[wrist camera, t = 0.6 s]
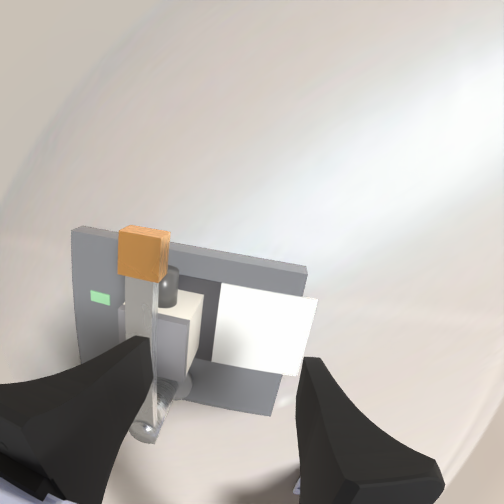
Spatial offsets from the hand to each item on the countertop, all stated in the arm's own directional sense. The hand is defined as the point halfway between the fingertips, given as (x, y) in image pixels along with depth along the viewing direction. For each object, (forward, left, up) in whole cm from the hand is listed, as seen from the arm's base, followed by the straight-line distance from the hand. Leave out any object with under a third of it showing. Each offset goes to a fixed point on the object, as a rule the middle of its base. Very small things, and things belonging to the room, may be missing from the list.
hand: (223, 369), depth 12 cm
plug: (-3, +4, -8) cm, 10 cm away
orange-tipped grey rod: (-3, +5, -8) cm, 9 cm away
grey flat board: (-4, +4, -10) cm, 12 cm away
